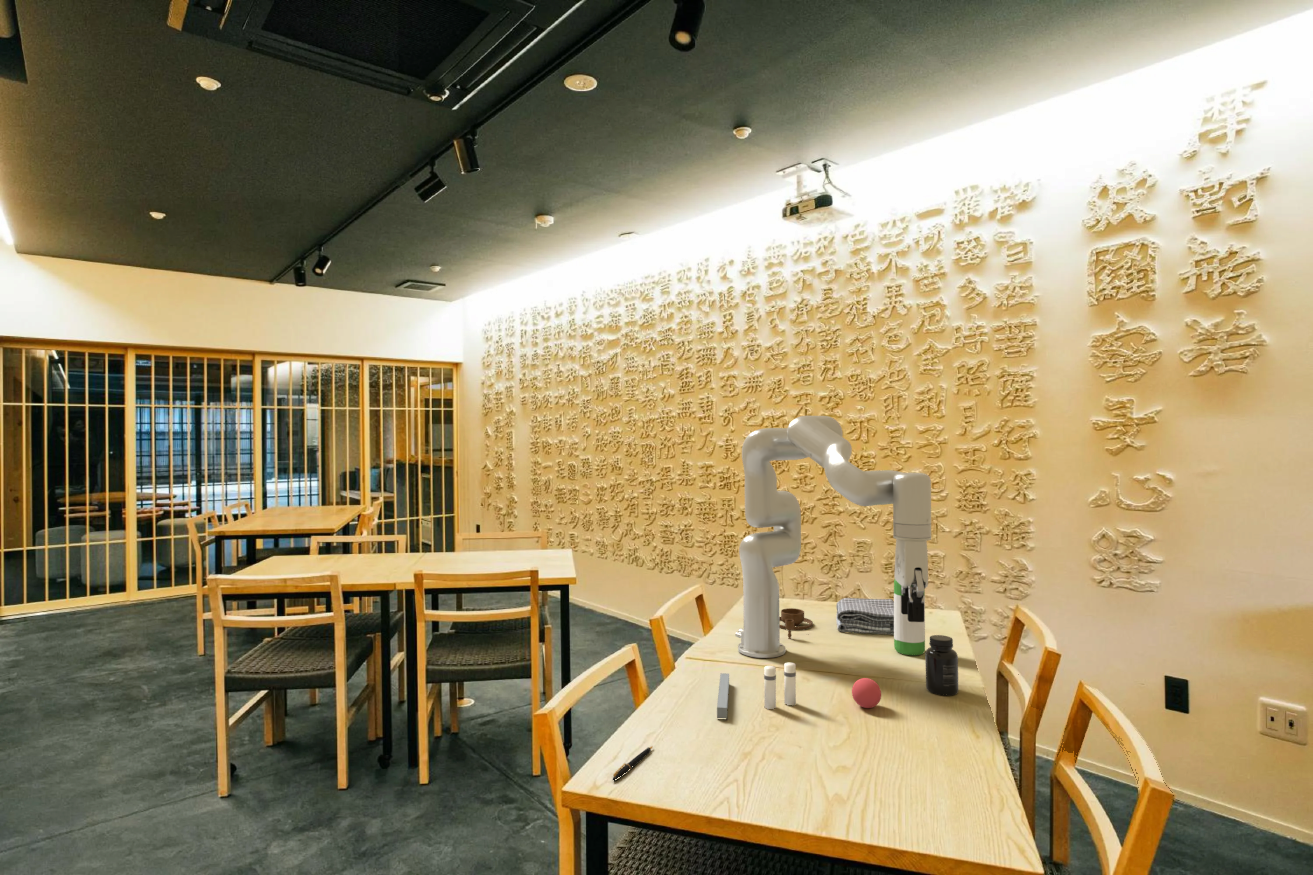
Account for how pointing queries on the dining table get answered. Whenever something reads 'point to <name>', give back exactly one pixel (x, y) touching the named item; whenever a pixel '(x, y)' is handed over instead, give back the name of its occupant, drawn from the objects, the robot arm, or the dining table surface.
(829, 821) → the dining table surface
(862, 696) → the ball
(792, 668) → the pin
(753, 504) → the robot arm
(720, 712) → the gray square bar
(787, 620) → the place setting
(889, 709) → the dining table surface
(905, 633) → the wine bottle
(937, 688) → the supplement bottle
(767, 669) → the pin
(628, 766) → the fountain pen
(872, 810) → the dining table surface
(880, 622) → the towel
